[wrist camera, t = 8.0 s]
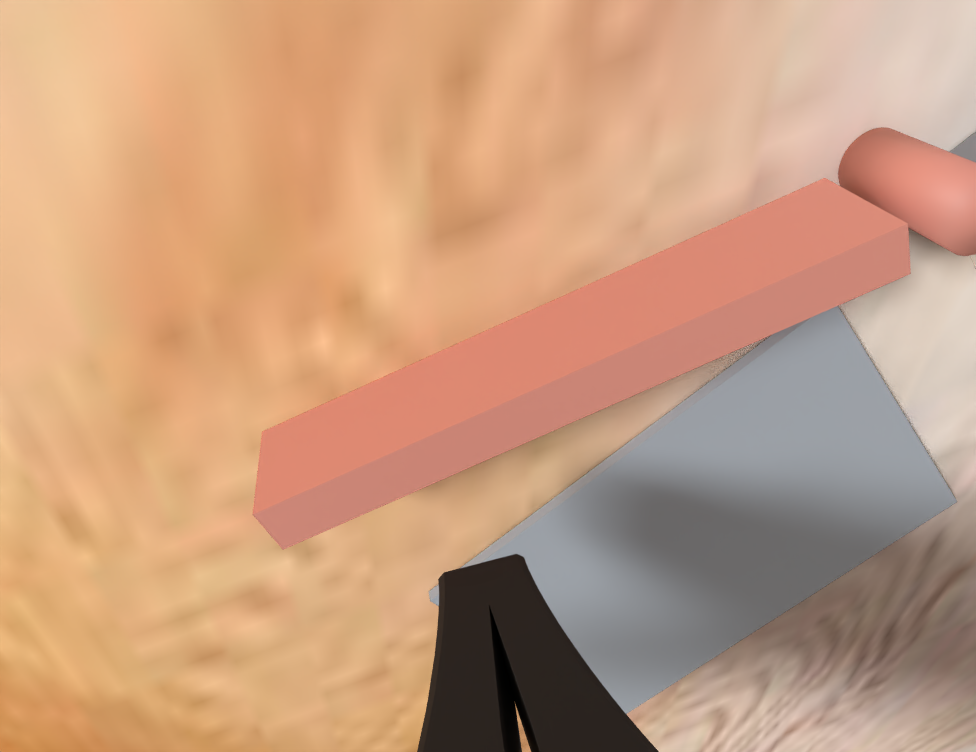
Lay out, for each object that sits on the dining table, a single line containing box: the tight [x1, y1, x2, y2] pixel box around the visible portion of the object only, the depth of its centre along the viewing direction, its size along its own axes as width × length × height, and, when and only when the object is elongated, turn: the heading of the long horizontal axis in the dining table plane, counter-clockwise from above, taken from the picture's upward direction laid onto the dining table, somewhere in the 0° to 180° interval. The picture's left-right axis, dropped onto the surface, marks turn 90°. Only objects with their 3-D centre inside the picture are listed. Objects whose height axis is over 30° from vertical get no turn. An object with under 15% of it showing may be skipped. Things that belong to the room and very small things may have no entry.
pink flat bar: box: [253, 128, 976, 549], centre depth 14 cm, size 1×14×3 cm, turn 112°
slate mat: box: [429, 306, 957, 714], centre depth 20 cm, size 12×9×1 cm
